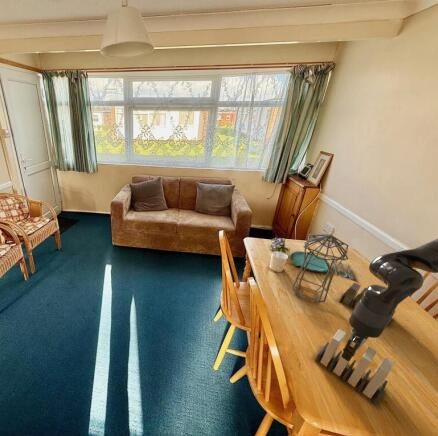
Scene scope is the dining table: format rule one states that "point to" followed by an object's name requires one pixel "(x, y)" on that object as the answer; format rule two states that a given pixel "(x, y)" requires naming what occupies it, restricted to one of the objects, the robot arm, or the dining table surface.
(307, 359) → the dining table surface
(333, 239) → the geometric lantern
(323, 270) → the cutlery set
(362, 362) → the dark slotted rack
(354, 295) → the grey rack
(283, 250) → the purple flower bunch
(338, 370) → the white book
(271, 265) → the white cup
